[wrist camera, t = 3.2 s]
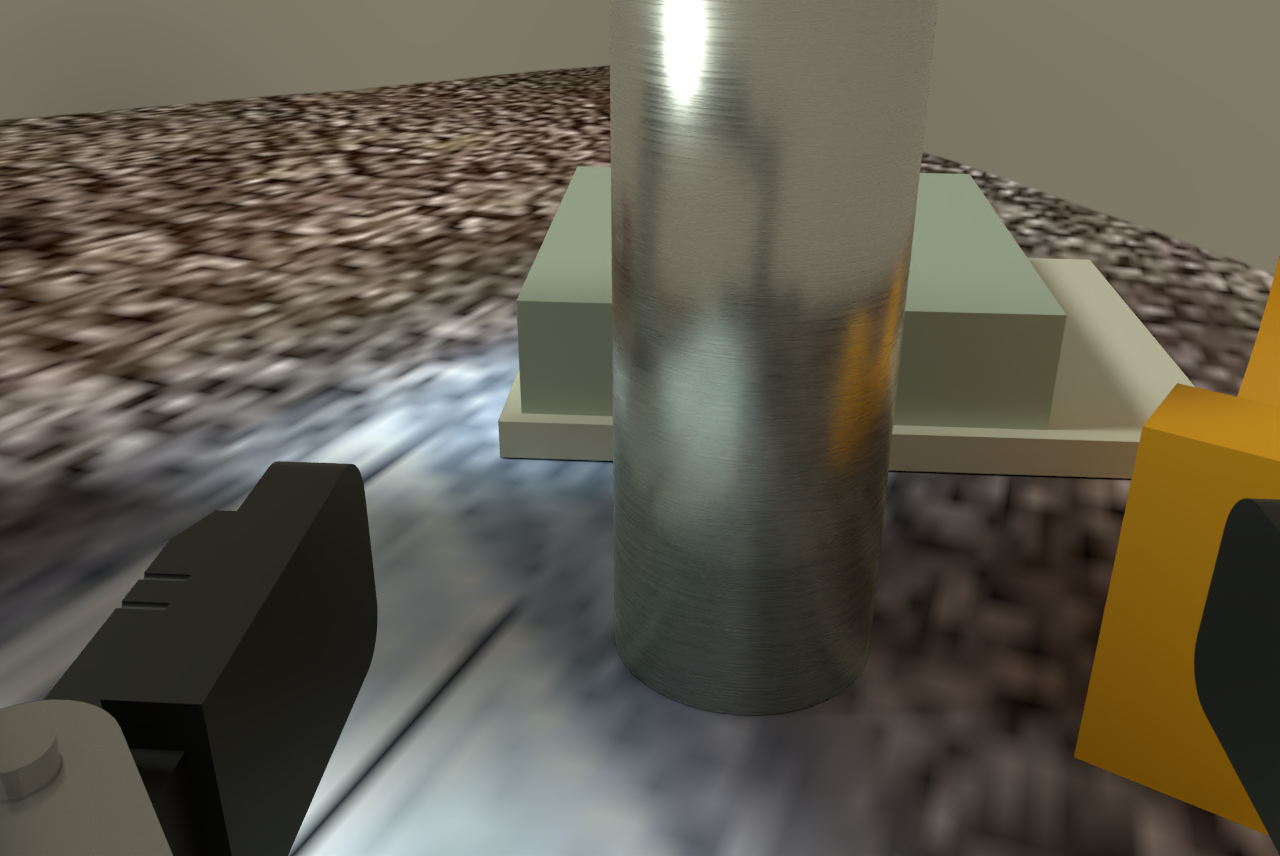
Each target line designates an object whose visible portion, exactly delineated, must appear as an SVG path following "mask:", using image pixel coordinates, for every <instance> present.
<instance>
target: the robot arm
mask: <svg viewBox="0 0 1280 856" xmlns="http://www.w3.org/2000/svg"><path fill="white" fill-rule="evenodd" d="M376 632H377V599H376V590H375V581H374V572H373V563H372V554H371V545H370V536H369V527H368V518H367V509H366V500H365V491H364V484H363V480H362V476H361V474H360V471H359V469H358V468H357V467H356V466H355V465H353V464H336V463H308V462H280V461H279V462H274V463H273V464H272V465H271V466H270V467H269V468H268V469H267V471H266V472H265V473H264V475H263V476H262V477H261V479H260V480H259V482H258V483H257V484H256V486H255V487H254V488H253V490H252V491H251V493H250V494H249V495H248V497H247V498H246V499H245V501H244V502H243V504H242V505H241V506H240V508H239V509H238V510H237V511H214V512H213V513H211V514H210V515H208V516H206V517H205V518H203V519H202V520H200V521H199V522H197V523H195V524H194V525H192V526H191V527H189V528H188V529H186V530H184V531H183V532H181V533H180V534H178V535H176V536H175V537H173V538H172V539H171V540H170V541H169V542H168V543H167V545H166V546H165V547H164V548H163V550H162V551H161V552H160V554H159V555H158V556H157V557H156V559H155V560H154V561H153V562H152V564H151V565H150V566H149V567H148V569H147V570H146V571H145V573H144V580H138V581H137V583H136V584H135V585H134V586H133V588H132V589H131V590H130V591H129V593H128V594H127V595H126V597H125V598H124V599H123V600H122V608H116V609H115V610H114V612H113V613H112V614H111V616H110V617H109V618H108V619H107V621H106V622H105V623H104V624H103V626H102V627H101V628H100V629H99V631H98V632H97V633H96V634H95V636H94V637H93V638H92V640H91V641H90V642H89V643H88V645H87V646H86V647H85V648H84V650H83V651H82V652H81V653H80V655H79V656H78V657H77V658H76V660H75V661H74V662H73V664H72V665H71V666H70V667H69V669H68V670H67V671H66V672H65V674H64V675H63V676H62V677H61V679H60V680H59V681H58V683H57V684H56V685H55V686H54V688H53V689H52V690H51V691H50V693H49V694H48V695H47V696H46V698H45V699H44V700H42V701H33V702H28V703H22V704H17V705H14V706H10V707H6V708H3V709H0V856H288V854H289V852H290V850H291V847H292V845H293V843H294V841H295V838H296V836H297V834H298V831H299V829H300V827H301V824H302V822H303V820H304V817H305V815H306V813H307V811H308V808H309V806H310V804H311V801H312V799H313V797H314V794H315V792H316V790H317V787H318V785H319V783H320V781H321V778H322V776H323V774H324V771H325V769H326V767H327V764H328V762H329V760H330V758H331V755H332V753H333V751H334V748H335V746H336V744H337V741H338V739H339V737H340V734H341V732H342V730H343V728H344V725H345V723H346V721H347V718H348V716H349V714H350V711H351V709H352V707H353V704H354V702H355V700H356V698H357V695H358V693H359V691H360V688H361V686H362V684H363V681H364V679H365V677H366V675H367V672H368V670H369V667H370V664H371V661H372V657H373V652H374V647H375V641H376ZM1194 674H1195V683H1196V689H1197V694H1198V698H1199V701H1200V704H1201V707H1202V709H1203V711H1204V713H1205V715H1206V717H1207V719H1208V721H1209V723H1210V725H1211V726H1212V728H1213V730H1214V732H1215V734H1216V736H1217V738H1218V740H1219V742H1220V743H1221V745H1222V747H1223V749H1224V751H1225V753H1226V755H1227V757H1228V759H1229V760H1230V762H1231V764H1232V766H1233V768H1234V770H1235V772H1236V774H1237V775H1238V777H1239V779H1240V781H1241V783H1242V785H1243V787H1244V789H1245V791H1246V792H1247V794H1248V796H1249V798H1250V800H1251V802H1252V804H1253V806H1254V808H1255V809H1256V811H1257V813H1258V815H1259V817H1260V819H1261V821H1262V823H1263V824H1264V826H1265V828H1266V830H1267V832H1268V834H1269V836H1270V838H1271V840H1272V841H1273V843H1274V845H1275V847H1276V849H1277V851H1278V853H1279V855H1280V499H1254V498H1245V499H1241V500H1240V501H1238V502H1237V503H1236V504H1235V505H1234V506H1233V508H1232V509H1231V511H1230V513H1229V515H1228V518H1227V521H1226V524H1225V527H1224V531H1223V535H1222V539H1221V543H1220V547H1219V551H1218V555H1217V559H1216V563H1215V567H1214V571H1213V575H1212V579H1211V583H1210V587H1209V591H1208V595H1207V599H1206V603H1205V607H1204V611H1203V615H1202V619H1201V623H1200V627H1199V631H1198V635H1197V639H1196V644H1195V652H1194Z"/></svg>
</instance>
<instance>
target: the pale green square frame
mask: <svg viewBox="0 0 1280 856" xmlns="http://www.w3.org/2000/svg"><path fill="white" fill-rule="evenodd" d="M516 304H517V326H518V348H519V370H518V373H517V375H516V378H515V380H514V383H513V385H512V388H511V390H510V393H509V396H508V398H507V401H506V403H505V406H504V408H503V411H502V413H501V416H500V418H499V421H498V425H499V443H500V457H511V458H540V459H570V460H599V461H613V365H612V235H611V167H577V169H576V171H575V173H574V176H573V178H572V180H571V182H570V184H569V187H568V189H567V191H566V193H565V195H564V198H563V200H562V202H561V204H560V206H559V209H558V211H557V213H556V215H555V217H554V219H553V222H552V224H551V226H550V228H549V230H548V233H547V235H546V237H545V239H544V241H543V244H542V246H541V248H540V250H539V252H538V255H537V257H536V259H535V261H534V263H533V266H532V268H531V270H530V272H529V274H528V276H527V279H526V281H525V283H524V285H523V287H522V290H521V292H520V294H519V296H518V298H517V301H516ZM1177 383H1179V384H1183V385H1188V386H1192V387H1195V386H1194V385H1193V384H1192V383H1191V381H1190V380H1189V379H1188V378H1187V377H1186V375H1185V374H1184V373H1183V372H1182V371H1181V369H1180V368H1179V367H1178V366H1177V365H1176V363H1175V362H1174V361H1173V360H1172V359H1171V357H1170V356H1169V355H1168V354H1167V353H1166V351H1165V350H1164V349H1163V348H1162V346H1161V345H1160V344H1159V343H1158V342H1157V340H1156V339H1155V338H1154V337H1153V336H1152V334H1151V333H1150V332H1149V331H1148V330H1147V328H1146V327H1145V326H1144V325H1143V324H1142V322H1141V321H1140V320H1139V319H1138V318H1137V316H1136V315H1135V314H1134V313H1133V312H1132V310H1131V309H1130V308H1129V307H1128V306H1127V304H1126V303H1125V302H1124V301H1123V300H1122V298H1121V297H1120V296H1119V295H1118V294H1117V292H1116V291H1115V290H1114V289H1113V288H1112V286H1111V285H1110V284H1109V283H1108V281H1107V280H1106V279H1105V278H1104V277H1103V275H1102V274H1101V273H1100V272H1099V271H1098V269H1097V268H1096V267H1095V266H1094V265H1093V263H1092V262H1091V261H1090V260H1076V259H1034V258H1027V257H1026V255H1025V254H1024V253H1023V251H1022V250H1021V248H1020V247H1019V245H1018V244H1017V242H1016V241H1015V240H1014V238H1013V237H1012V235H1011V234H1010V232H1009V231H1008V229H1007V228H1006V226H1005V225H1004V224H1003V222H1002V221H1001V219H1000V218H999V216H998V215H997V213H996V212H995V210H994V209H993V208H992V206H991V205H990V203H989V202H988V200H987V199H986V197H985V196H984V195H983V193H982V192H981V190H980V189H979V187H978V186H977V184H976V183H975V181H974V180H973V179H972V177H971V176H970V174H932V173H920V176H919V186H918V195H917V204H916V214H915V223H914V233H913V242H912V252H911V261H910V271H909V280H908V290H907V299H906V308H905V318H904V327H903V337H902V346H901V356H900V365H899V375H898V384H897V394H896V403H895V412H894V422H893V431H892V441H891V450H890V460H889V469H888V470H894V471H924V472H953V473H983V474H1012V475H1042V476H1071V477H1101V478H1130V479H1132V475H1133V470H1134V465H1135V461H1136V456H1137V451H1138V446H1139V441H1140V437H1141V432H1142V427H1143V425H1144V424H1145V423H1146V421H1147V420H1148V419H1149V418H1150V416H1151V415H1152V414H1153V413H1154V411H1155V410H1156V409H1157V408H1158V406H1159V405H1160V404H1161V403H1162V401H1163V400H1164V399H1165V398H1166V396H1167V395H1168V394H1169V393H1170V391H1171V390H1172V389H1173V388H1174V386H1175V385H1176V384H1177Z"/></svg>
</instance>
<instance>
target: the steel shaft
mask: <svg viewBox="0 0 1280 856" xmlns="http://www.w3.org/2000/svg"><path fill="white" fill-rule="evenodd" d="M937 5H938V0H610V105H611V235H612V365H613V495H614V625H615V642H616V647H617V649H618V652H619V654H620V657H621V658H622V660H623V661H624V663H625V664H626V666H627V667H628V668H629V669H630V671H631V672H632V673H633V674H634V675H635V676H636V677H637V678H639V679H640V680H641V681H642V682H643V683H645V684H646V685H647V686H649V687H650V688H652V689H654V690H655V691H657V692H658V693H660V694H662V695H664V696H666V697H668V698H670V699H673V700H675V701H678V702H680V703H683V704H686V705H689V706H692V707H696V708H700V709H703V710H707V711H713V712H719V713H725V714H736V715H767V714H779V713H784V712H790V711H796V710H799V709H803V708H806V707H810V706H813V705H815V704H818V703H820V702H823V701H825V700H827V699H829V698H831V697H833V696H835V695H837V694H838V693H840V692H841V691H842V690H844V689H845V688H847V687H848V686H849V685H850V684H851V683H852V682H853V681H854V680H855V679H856V678H857V677H858V676H859V674H860V673H861V671H862V670H863V668H864V666H865V664H866V661H867V659H868V654H869V648H870V639H871V630H872V620H873V611H874V601H875V592H876V583H877V573H878V564H879V554H880V545H881V535H882V526H883V516H884V507H885V497H886V488H887V479H888V469H889V460H890V450H891V441H892V431H893V422H894V412H895V403H896V394H897V384H898V375H899V365H900V356H901V346H902V337H903V327H904V318H905V308H906V299H907V290H908V280H909V271H910V261H911V252H912V242H913V233H914V223H915V214H916V204H917V195H918V186H919V176H920V167H921V157H922V147H923V138H924V129H925V119H926V109H927V100H928V91H929V81H930V72H931V63H932V53H933V44H934V34H935V25H936V15H937Z"/></svg>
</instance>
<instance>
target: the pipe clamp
mask: <svg viewBox="0 0 1280 856" xmlns="http://www.w3.org/2000/svg"><path fill="white" fill-rule="evenodd" d="M1245 498H1254V499H1280V256H1279V260H1278V264H1277V268H1276V272H1275V276H1274V280H1273V283H1272V287H1271V291H1270V294H1269V298H1268V301H1267V305H1266V308H1265V312H1264V316H1263V319H1262V322H1261V326H1260V329H1259V332H1258V336H1257V339H1256V342H1255V345H1254V348H1253V352H1252V355H1251V358H1250V361H1249V364H1248V367H1247V370H1246V373H1245V376H1244V379H1243V382H1242V385H1241V387H1240V390H1239V393H1238V396H1237V397H1235V396H1231V395H1226V394H1222V393H1218V392H1213V391H1209V390H1205V389H1200V388H1196V387H1192V386H1188V385H1183V384H1179V383H1177V384H1176V385H1175V386H1174V388H1173V389H1172V390H1171V391H1170V393H1169V394H1168V395H1167V396H1166V398H1165V399H1164V400H1163V401H1162V403H1161V404H1160V405H1159V406H1158V408H1157V409H1156V410H1155V411H1154V413H1153V414H1152V415H1151V416H1150V418H1149V419H1148V420H1147V421H1146V423H1145V424H1144V425H1143V427H1142V432H1141V437H1140V441H1139V446H1138V451H1137V456H1136V461H1135V465H1134V470H1133V475H1132V480H1131V485H1130V489H1129V494H1128V499H1127V504H1126V509H1125V514H1124V518H1123V523H1122V528H1121V533H1120V538H1119V542H1118V547H1117V552H1116V557H1115V562H1114V566H1113V571H1112V576H1111V581H1110V586H1109V591H1108V595H1107V600H1106V605H1105V610H1104V615H1103V619H1102V624H1101V629H1100V634H1099V639H1098V643H1097V648H1096V653H1095V658H1094V663H1093V668H1092V672H1091V677H1090V682H1089V687H1088V692H1087V696H1086V701H1085V706H1084V711H1083V716H1082V720H1081V725H1080V730H1079V735H1078V740H1077V745H1076V749H1075V754H1074V757H1075V758H1077V759H1080V760H1082V761H1085V762H1087V763H1090V764H1092V765H1095V766H1097V767H1100V768H1102V769H1105V770H1107V771H1110V772H1112V773H1114V774H1117V775H1119V776H1122V777H1124V778H1127V779H1129V780H1132V781H1134V782H1137V783H1139V784H1142V785H1144V786H1147V787H1149V788H1152V789H1154V790H1157V791H1159V792H1162V793H1164V794H1167V795H1169V796H1171V797H1174V798H1176V799H1179V800H1181V801H1184V802H1186V803H1189V804H1191V805H1194V806H1196V807H1199V808H1201V809H1204V810H1206V811H1209V812H1211V813H1214V814H1216V815H1219V816H1221V817H1224V818H1226V819H1228V820H1231V821H1233V822H1236V823H1238V824H1241V825H1243V826H1246V827H1248V828H1251V829H1253V830H1256V831H1258V832H1261V833H1263V834H1266V835H1268V836H1269V834H1268V832H1267V830H1266V828H1265V826H1264V824H1263V823H1262V821H1261V819H1260V817H1259V815H1258V813H1257V811H1256V809H1255V808H1254V806H1253V804H1252V802H1251V800H1250V798H1249V796H1248V794H1247V792H1246V791H1245V789H1244V787H1243V785H1242V783H1241V781H1240V779H1239V777H1238V775H1237V774H1236V772H1235V770H1234V768H1233V766H1232V764H1231V762H1230V760H1229V759H1228V757H1227V755H1226V753H1225V751H1224V749H1223V747H1222V745H1221V743H1220V742H1219V740H1218V738H1217V736H1216V734H1215V732H1214V730H1213V728H1212V726H1211V725H1210V723H1209V721H1208V719H1207V717H1206V715H1205V713H1204V711H1203V709H1202V707H1201V704H1200V701H1199V698H1198V694H1197V689H1196V683H1195V674H1194V652H1195V644H1196V639H1197V635H1198V631H1199V627H1200V623H1201V619H1202V615H1203V611H1204V607H1205V603H1206V599H1207V595H1208V591H1209V587H1210V583H1211V579H1212V575H1213V571H1214V567H1215V563H1216V559H1217V555H1218V551H1219V547H1220V543H1221V539H1222V535H1223V531H1224V527H1225V524H1226V521H1227V518H1228V515H1229V513H1230V511H1231V509H1232V508H1233V506H1234V505H1235V504H1236V503H1237V502H1238V501H1240V500H1241V499H1245Z"/></svg>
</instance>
